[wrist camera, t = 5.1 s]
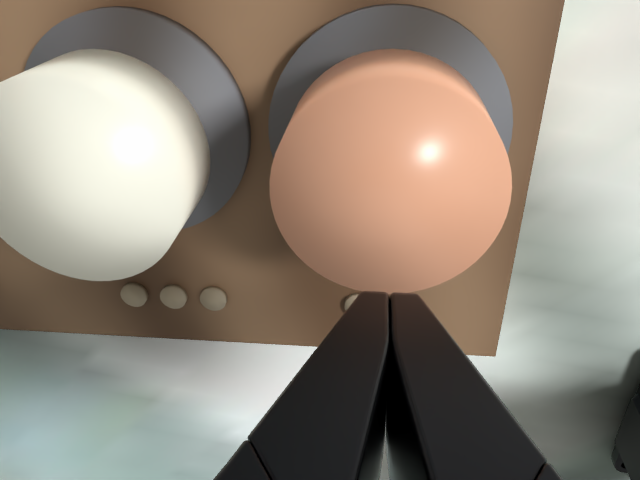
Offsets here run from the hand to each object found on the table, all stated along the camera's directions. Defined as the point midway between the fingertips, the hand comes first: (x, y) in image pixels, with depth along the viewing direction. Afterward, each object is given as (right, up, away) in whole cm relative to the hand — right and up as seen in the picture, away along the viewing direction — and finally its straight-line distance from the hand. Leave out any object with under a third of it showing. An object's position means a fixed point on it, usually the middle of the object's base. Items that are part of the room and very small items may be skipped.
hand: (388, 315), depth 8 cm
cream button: (-6, +4, +6) cm, 9 cm away
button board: (-6, +4, +9) cm, 12 cm away
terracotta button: (+1, +3, +5) cm, 6 cm away
